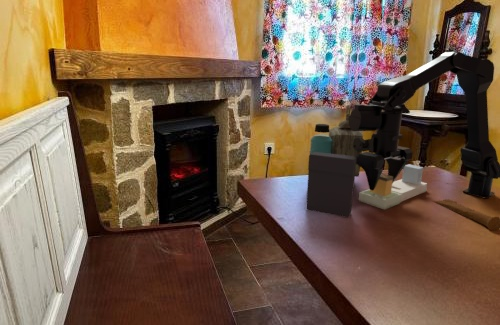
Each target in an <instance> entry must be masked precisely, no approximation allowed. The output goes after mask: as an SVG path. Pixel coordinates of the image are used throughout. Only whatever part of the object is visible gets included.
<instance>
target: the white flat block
mask: <svg viewBox="0 0 500 325" xmlns="http://www.w3.org/2000/svg"><path fill="white" fill-rule="evenodd" d="M427 188H428V183H427V182H424V181H421V183H420V184H418V185H414V184H410V183H406V182H402V178H400V179H398V180H395V181H394V182H393V183H392V189H391V192H394V193H398V194H401V202H404V201H407V200H408V199H411V198H413V197H415V196H418V195H421V194H423V193H426V192H427Z"/></svg>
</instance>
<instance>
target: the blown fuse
mask: <svg viewBox="0 0 500 325" xmlns="http://www.w3.org/2000/svg"><path fill="white" fill-rule="evenodd" d="M392 181H393V176H389V175H388V174H385V173H383V172H382V173H381V175H380V178H379V180H378V182H377V185H376V187H375V189H374V190H370V192H373V193H375V197H378V198H381V199H384V200H385V196H387V195H389V194H391V189H392Z"/></svg>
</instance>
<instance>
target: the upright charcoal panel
mask: <svg viewBox="0 0 500 325" xmlns="http://www.w3.org/2000/svg"><path fill="white" fill-rule="evenodd" d="M356 159H357V158H356V157H355V156H347V155H338V154H330V153H321V152H313V153H311V154H310V153H309V155H308V166H307V167H308V168H307V170H308V172H309V174H307V193H306V205H305V206H306V210H308V211H311V212H317V213H322V214H327V215H334V216H338V217H343V218H349V217H350V215H351V214H352V208H353V198H354V188H355V178H356V176H355V169H356Z"/></svg>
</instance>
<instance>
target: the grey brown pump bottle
mask: <svg viewBox="0 0 500 325" xmlns="http://www.w3.org/2000/svg"><path fill="white" fill-rule="evenodd" d="M350 105H351V104H347V106H346V110H345V111H346V113H345V119H343V120H341V121H340V122H339V124H338V126H335V127H332V128H329V132H328V136H329V137H330V138H331V139H332V147H331V154H338V155H347V156H355V157H356V156H357V155H358V154H360V153H363V151H361V152H360V153H357V150H355V149H354V148H353V142H354V139H355V138H360V137H362V138H363V139H364V134H363V131H352V130H351V128H350V126H349V116H350V114H351V106H350ZM360 170H361V167H359V166H358V164H356V169H355V178H357V177H360V173H361V171H360Z"/></svg>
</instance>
